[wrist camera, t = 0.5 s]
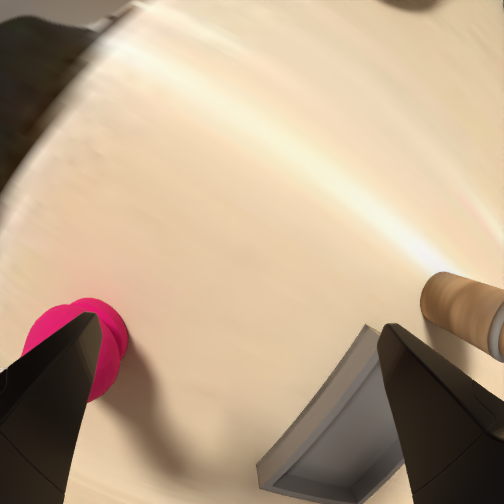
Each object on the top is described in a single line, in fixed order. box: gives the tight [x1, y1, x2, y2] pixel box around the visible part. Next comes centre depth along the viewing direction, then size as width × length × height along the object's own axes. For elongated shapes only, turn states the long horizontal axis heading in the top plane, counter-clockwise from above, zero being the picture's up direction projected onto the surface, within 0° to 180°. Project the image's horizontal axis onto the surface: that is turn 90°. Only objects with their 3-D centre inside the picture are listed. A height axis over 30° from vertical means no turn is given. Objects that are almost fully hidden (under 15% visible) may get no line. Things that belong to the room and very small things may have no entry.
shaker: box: [420, 272, 504, 363], centre depth 20 cm, size 5×5×12 cm
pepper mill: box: [0, 298, 128, 403], centre depth 14 cm, size 7×7×20 cm
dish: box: [256, 324, 405, 504], centre depth 25 cm, size 18×13×4 cm
